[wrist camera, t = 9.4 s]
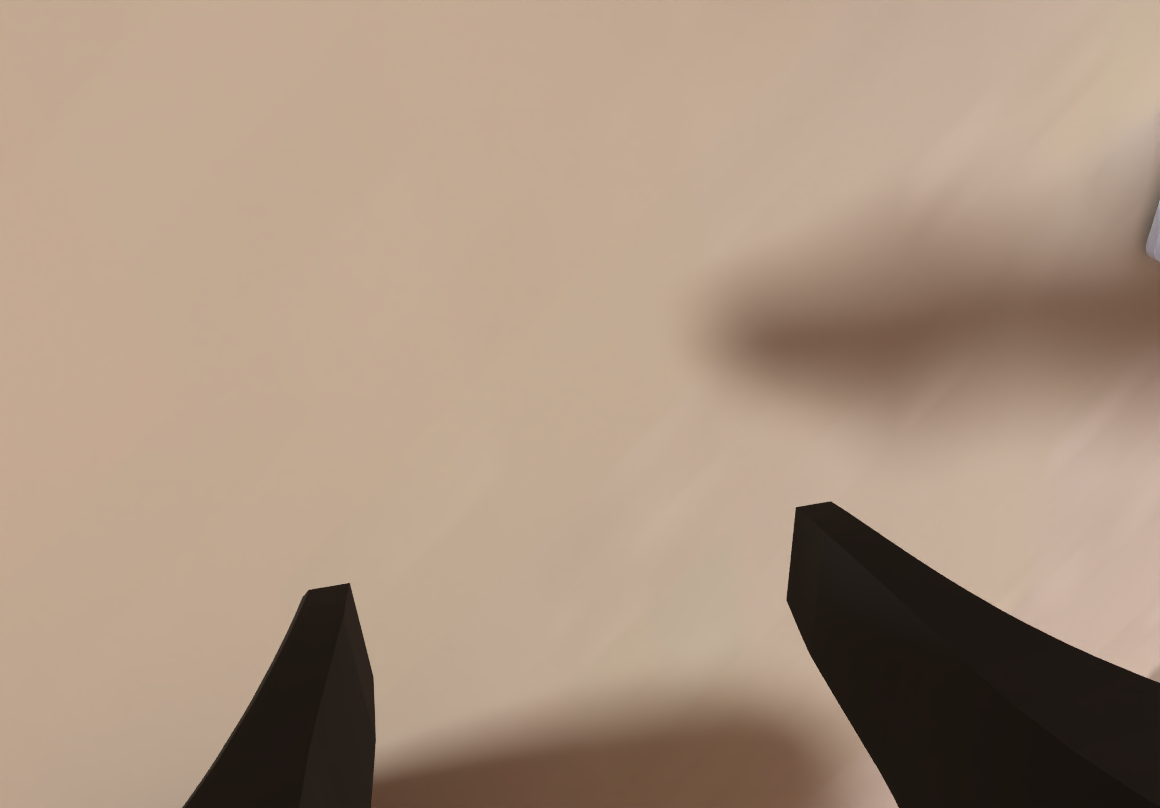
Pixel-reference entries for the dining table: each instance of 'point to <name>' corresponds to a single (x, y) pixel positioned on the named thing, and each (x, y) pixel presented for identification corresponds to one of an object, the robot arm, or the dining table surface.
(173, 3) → the dining table surface
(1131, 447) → the dining table surface
